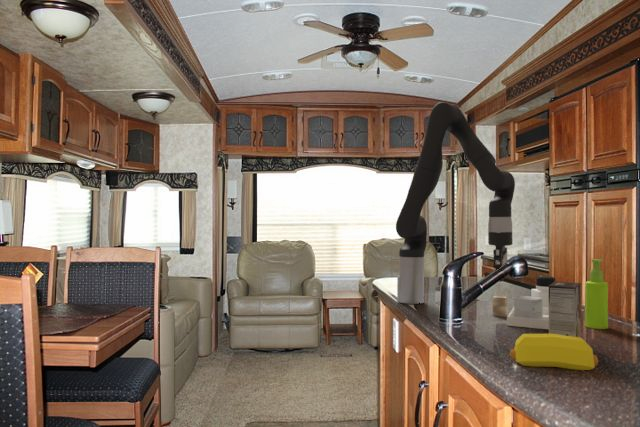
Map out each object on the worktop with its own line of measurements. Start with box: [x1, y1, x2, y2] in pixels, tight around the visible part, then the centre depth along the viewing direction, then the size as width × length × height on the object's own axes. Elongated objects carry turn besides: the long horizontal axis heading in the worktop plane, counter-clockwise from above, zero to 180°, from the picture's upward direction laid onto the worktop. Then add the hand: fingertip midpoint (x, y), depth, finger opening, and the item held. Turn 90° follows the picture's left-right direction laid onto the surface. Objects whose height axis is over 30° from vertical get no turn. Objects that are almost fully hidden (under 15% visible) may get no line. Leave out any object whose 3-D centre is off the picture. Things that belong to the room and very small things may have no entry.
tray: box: [506, 306, 549, 330], centre depth 159 cm, size 12×22×3 cm, turn 153°
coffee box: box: [548, 281, 582, 338], centre depth 125 cm, size 9×6×16 cm
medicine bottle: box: [530, 275, 556, 308], centre depth 175 cm, size 7×7×12 cm
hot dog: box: [509, 333, 599, 371], centre depth 112 cm, size 18×7×8 cm
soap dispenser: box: [584, 258, 609, 330], centre depth 151 cm, size 6×7×20 cm
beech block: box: [492, 295, 508, 318], centre depth 168 cm, size 4×4×6 cm
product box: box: [513, 295, 543, 319], centre depth 154 cm, size 6×6×7 cm
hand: (500, 279), depth 168 cm, fingers open, 8 cm apart
